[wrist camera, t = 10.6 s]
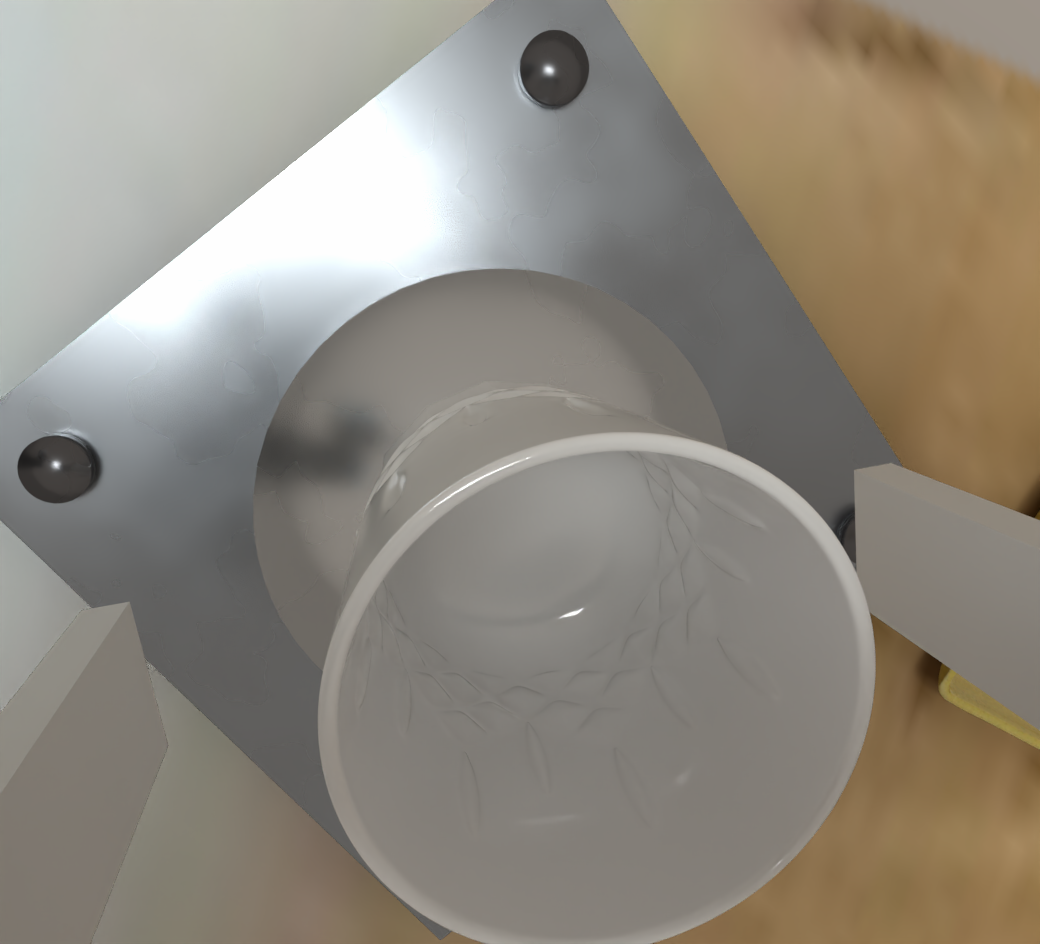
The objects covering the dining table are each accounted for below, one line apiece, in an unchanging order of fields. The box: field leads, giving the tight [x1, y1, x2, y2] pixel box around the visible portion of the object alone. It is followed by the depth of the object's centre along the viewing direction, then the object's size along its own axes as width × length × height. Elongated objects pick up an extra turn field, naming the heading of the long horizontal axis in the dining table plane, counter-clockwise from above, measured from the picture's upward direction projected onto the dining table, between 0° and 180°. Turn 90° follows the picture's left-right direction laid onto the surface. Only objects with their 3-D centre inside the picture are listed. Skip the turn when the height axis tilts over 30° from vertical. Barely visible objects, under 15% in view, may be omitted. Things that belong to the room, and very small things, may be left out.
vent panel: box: [0, 0, 903, 940], centre depth 22 cm, size 19×19×2 cm
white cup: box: [318, 381, 876, 944], centre depth 17 cm, size 8×8×10 cm
